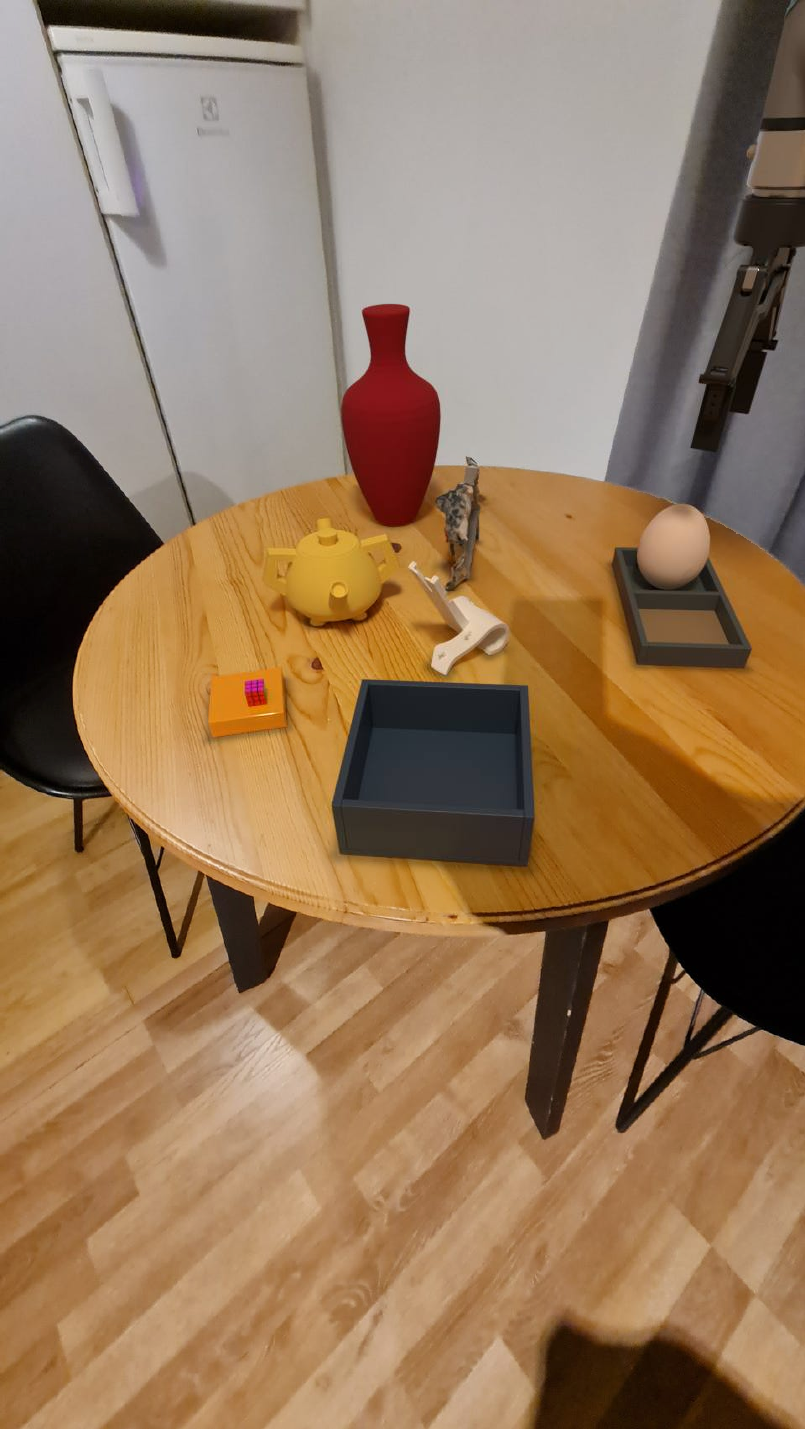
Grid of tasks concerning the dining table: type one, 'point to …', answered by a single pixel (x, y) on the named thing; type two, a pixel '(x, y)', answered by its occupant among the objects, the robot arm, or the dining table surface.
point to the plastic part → (461, 625)
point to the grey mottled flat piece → (461, 522)
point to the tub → (437, 773)
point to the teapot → (331, 573)
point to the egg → (674, 547)
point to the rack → (679, 619)
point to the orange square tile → (247, 702)
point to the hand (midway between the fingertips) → (721, 430)
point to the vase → (391, 422)
